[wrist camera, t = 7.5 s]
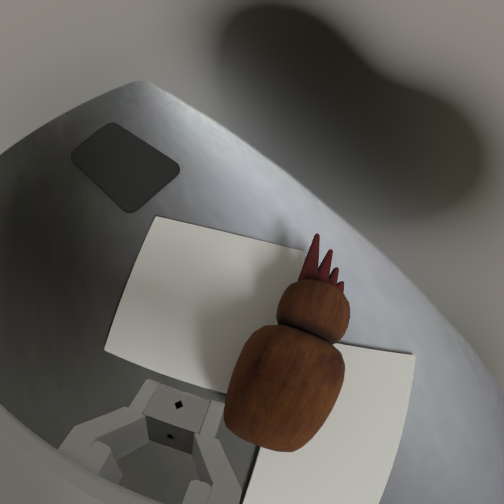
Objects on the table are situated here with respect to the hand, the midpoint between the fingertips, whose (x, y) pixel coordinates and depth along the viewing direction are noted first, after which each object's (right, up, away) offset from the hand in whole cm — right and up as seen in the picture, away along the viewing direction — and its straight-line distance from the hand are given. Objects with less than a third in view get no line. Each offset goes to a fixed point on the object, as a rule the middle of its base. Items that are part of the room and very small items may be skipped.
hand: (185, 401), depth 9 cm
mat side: (-1, +2, +12) cm, 12 cm away
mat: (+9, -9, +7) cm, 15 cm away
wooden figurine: (+3, -6, +5) cm, 8 cm away
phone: (-13, +15, +19) cm, 27 cm away
